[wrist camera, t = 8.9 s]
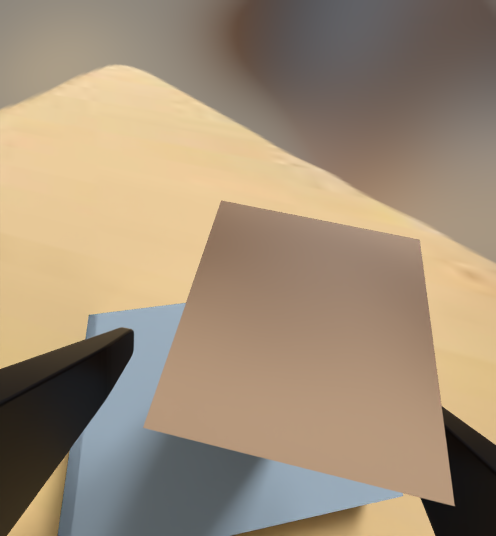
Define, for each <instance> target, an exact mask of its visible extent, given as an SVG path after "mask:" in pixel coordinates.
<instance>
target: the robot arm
mask: <svg viewBox="0 0 496 536" xmlns="http://www.w3.org/2000/svg"><path fill="white" fill-rule="evenodd" d="M133 351H134V331H133V330H132V329H129V328H124V327H120V328H117V329H114V330H111V331H108V332H106V333H103V334H100V335H97V336H94V337H91V338H88V339H85V340H83V341H80V342H77V343H74V344H71V345H68V346H65V347H62V348H60V349H57V350H54V351H51V352H48V353H45V354H42V355H39V356H37V357H34V358H31V359H28V360H25V361H22V362H19V363H16V364H14V365H11V366H8V367H5V368H2V369H0V536H7V535H8V533H9V532H10V531H11V529H12V528H13V527H14V525H15V524H16V523H17V521H18V520H19V518H20V517H21V516H22V514H23V513H24V512H25V510H26V509H27V507H28V506H29V505H30V503H31V502H32V501H33V499H34V498H35V497H36V495H37V494H38V492H39V491H40V490H41V488H42V487H43V486H44V484H45V483H46V481H47V480H48V479H49V477H50V476H51V475H52V473H53V472H54V470H55V469H56V468H57V466H58V465H59V464H60V462H61V461H62V460H63V458H64V457H65V455H66V454H67V453H68V451H69V450H70V449H71V447H72V446H73V444H74V443H75V442H76V440H77V439H78V438H79V436H80V435H81V433H82V432H83V431H84V429H85V428H86V427H87V425H88V424H89V423H90V421H91V420H92V418H93V417H94V416H95V414H96V413H97V412H98V410H99V409H100V407H101V406H102V405H103V403H104V402H105V400H106V399H107V397H108V396H109V394H110V393H111V391H112V389H113V388H114V386H115V384H116V383H117V381H118V379H119V377H120V376H121V374H122V372H123V371H124V369H125V367H126V366H127V364H128V362H129V360H130V359H131V357H132V355H133ZM442 413H443V421H444V429H445V436H446V444H447V451H448V459H449V466H450V474H451V482H452V489H453V497H454V504H455V506H452V505H448V504H444V503H440V502H436V501H432V500H428V499H424V498H421V500H422V503H423V505H424V508H425V511H426V513H427V516H428V518H429V521H430V523H431V526H432V528H433V531H434V533H435V536H496V445H495V444H493V443H492V442H491V441H489V440H488V439H486V438H485V437H484V436H482V435H481V434H480V433H478V432H477V431H475V430H474V429H473V428H471V427H470V426H468V425H467V424H466V423H464V422H463V421H462V420H460V419H459V418H457V417H456V416H455V415H453V414H452V413H450V412H449V411H448V410H446V409H445V408H444V407H442Z"/></svg>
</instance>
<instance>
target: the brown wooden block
mask: <svg viewBox="0 0 496 536" xmlns="http://www.w3.org/2000/svg"><path fill="white" fill-rule="evenodd" d="M143 428H146V429H150V430H154V431H158V432H162V433H166V434H170V435H174V436H178V437H182V438H186V439H190V440H194V441H198V442H202V443H206V444H210V445H214V446H218V447H222V448H225V449H229V450H233V451H237V452H241V453H245V454H249V455H253V456H257V457H261V458H265V459H269V460H273V461H277V462H281V463H285V464H289V465H293V466H297V467H301V468H305V469H309V470H313V471H317V472H321V473H325V474H329V475H333V476H337V477H341V478H345V479H349V480H353V481H357V482H361V483H365V484H369V485H373V486H376V487H380V488H384V489H388V490H392V491H396V492H400V493H404V494H408V495H412V496H416V497H420V498H424V499H428V500H432V501H436V502H440V503H444V504H448V505H452V506H455V504H454V497H453V489H452V482H451V474H450V466H449V459H448V451H447V444H446V436H445V429H444V421H443V413H442V406H441V398H440V391H439V383H438V375H437V368H436V360H435V353H434V345H433V337H432V330H431V322H430V315H429V307H428V299H427V292H426V284H425V277H424V269H423V262H422V254H421V246H420V240H418V239H413V238H408V237H403V236H398V235H393V234H388V233H383V232H378V231H373V230H367V229H362V228H357V227H352V226H347V225H342V224H337V223H332V222H327V221H322V220H317V219H312V218H307V217H302V216H297V215H292V214H287V213H282V212H276V211H271V210H266V209H261V208H256V207H251V206H246V205H241V204H236V203H231V202H226V201H221V203H220V206H219V209H218V212H217V214H216V217H215V220H214V223H213V226H212V229H211V232H210V235H209V238H208V241H207V243H206V246H205V249H204V252H203V255H202V258H201V261H200V264H199V267H198V270H197V272H196V275H195V278H194V281H193V284H192V287H191V290H190V293H189V296H188V299H187V302H186V304H185V307H184V310H183V313H182V316H181V319H180V322H179V325H178V328H177V331H176V333H175V336H174V339H173V342H172V345H171V348H170V351H169V354H168V357H167V360H166V362H165V365H164V368H163V371H162V374H161V377H160V380H159V383H158V386H157V389H156V391H155V394H154V397H153V400H152V403H151V406H150V409H149V412H148V415H147V418H146V420H145V423H144V426H143Z"/></svg>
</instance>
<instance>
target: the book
mask: <svg viewBox="0 0 496 536" xmlns="http://www.w3.org/2000/svg"><path fill="white" fill-rule="evenodd" d="M185 304H186V303H182V304H174V305H166V306H157V307H149V308H141V309H133V310H125V311H117V312H109V313H101V314H93V315H89V318H88V325H87V332H86V339H88V338H91V337H94V336H97V335H100V334H103V333H106V332H108V331H111V330H114V329H117V328H120V327H124V328H129V329H132V330H133V331H134V351H133V355H132V357H131V359H130V360H129V362H128V364H127V366H126V367H125V369H124V371H123V372H122V374H121V376H120V377H119V379H118V381H117V383H116V384H115V386H114V388H113V389H112V391H111V393H110V394H109V396H108V397H107V399H106V400H105V402H104V403H103V405H102V406H101V407H100V409H99V410H98V412H97V413H96V414H95V416H94V417H93V418H92V420H91V421H90V423H89V424H88V425H87V427H86V428H85V429H84V431H83V432H82V433H81V435H80V436H79V438H78V439H77V440H76V442H75V443H74V444H73V446H72V447H71V449H70V452H69V459H68V466H67V473H66V480H65V487H64V494H63V501H62V508H61V515H60V522H59V529H58V536H231V535H236V534H240V533H244V532H249V531H253V530H257V529H262V528H266V527H270V526H275V525H279V524H283V523H288V522H292V521H296V520H301V519H305V518H309V517H314V516H318V515H322V514H327V513H331V512H336V511H340V510H344V509H349V508H353V507H357V506H362V505H366V504H370V503H375V502H379V501H383V500H388V499H392V498H396V497H401V496H403V493H400V492H396V491H392V490H388V489H384V488H380V487H376V486H373V485H369V484H365V483H361V482H357V481H353V480H349V479H345V478H341V477H337V476H333V475H329V474H325V473H321V472H317V471H313V470H309V469H305V468H301V467H297V466H293V465H289V464H285V463H281V462H277V461H273V460H269V459H265V458H261V457H257V456H253V455H249V454H245V453H241V452H237V451H233V450H229V449H225V448H222V447H218V446H214V445H210V444H206V443H202V442H198V441H194V440H190V439H186V438H182V437H178V436H174V435H170V434H166V433H162V432H158V431H154V430H150V429H146V428H143V426H144V423H145V420H146V418H147V415H148V412H149V409H150V406H151V403H152V400H153V397H154V394H155V391H156V389H157V386H158V383H159V380H160V377H161V374H162V371H163V368H164V365H165V362H166V360H167V357H168V354H169V351H170V348H171V345H172V342H173V339H174V336H175V333H176V331H177V328H178V325H179V322H180V319H181V316H182V313H183V310H184V307H185Z"/></svg>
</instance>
